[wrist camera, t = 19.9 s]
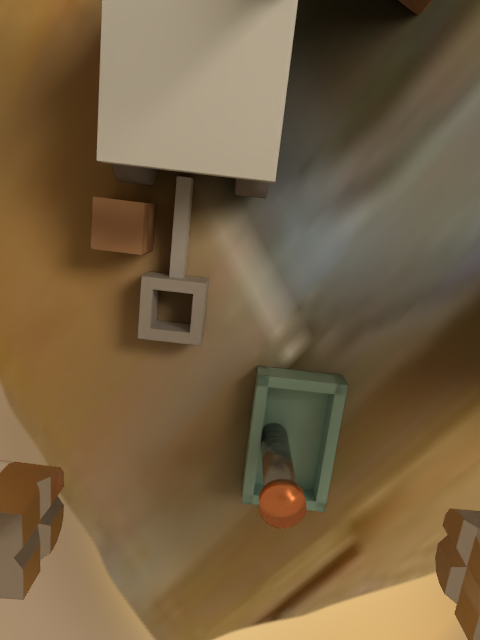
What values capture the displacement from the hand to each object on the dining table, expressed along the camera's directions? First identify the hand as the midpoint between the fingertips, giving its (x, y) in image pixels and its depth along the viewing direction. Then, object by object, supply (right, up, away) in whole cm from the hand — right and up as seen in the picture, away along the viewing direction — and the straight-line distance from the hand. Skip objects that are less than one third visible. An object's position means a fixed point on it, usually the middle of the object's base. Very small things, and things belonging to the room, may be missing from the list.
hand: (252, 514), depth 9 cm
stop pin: (+3, -7, +33) cm, 34 cm away
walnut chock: (-10, +12, +30) cm, 34 cm away
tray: (+5, -7, +34) cm, 35 cm away
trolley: (-4, +16, +29) cm, 33 cm away
